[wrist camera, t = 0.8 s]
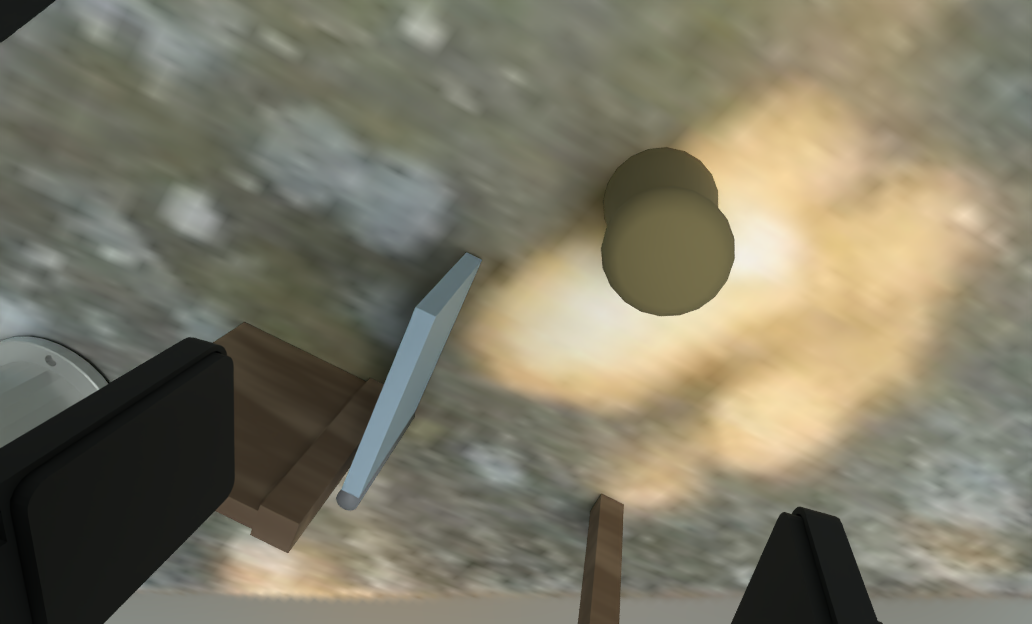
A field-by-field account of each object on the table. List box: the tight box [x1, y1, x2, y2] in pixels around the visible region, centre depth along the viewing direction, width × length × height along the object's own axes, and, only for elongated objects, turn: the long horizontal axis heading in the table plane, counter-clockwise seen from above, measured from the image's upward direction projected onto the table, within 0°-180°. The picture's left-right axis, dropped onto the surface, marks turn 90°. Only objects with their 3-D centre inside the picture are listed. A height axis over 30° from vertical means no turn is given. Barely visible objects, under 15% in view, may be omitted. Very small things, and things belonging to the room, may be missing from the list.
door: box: [336, 252, 482, 510], centre depth 35 cm, size 1×12×9 cm, turn 156°
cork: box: [601, 147, 735, 316], centre depth 29 cm, size 6×6×11 cm
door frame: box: [213, 322, 624, 624], centre depth 36 cm, size 2×27×13 cm, turn 66°
